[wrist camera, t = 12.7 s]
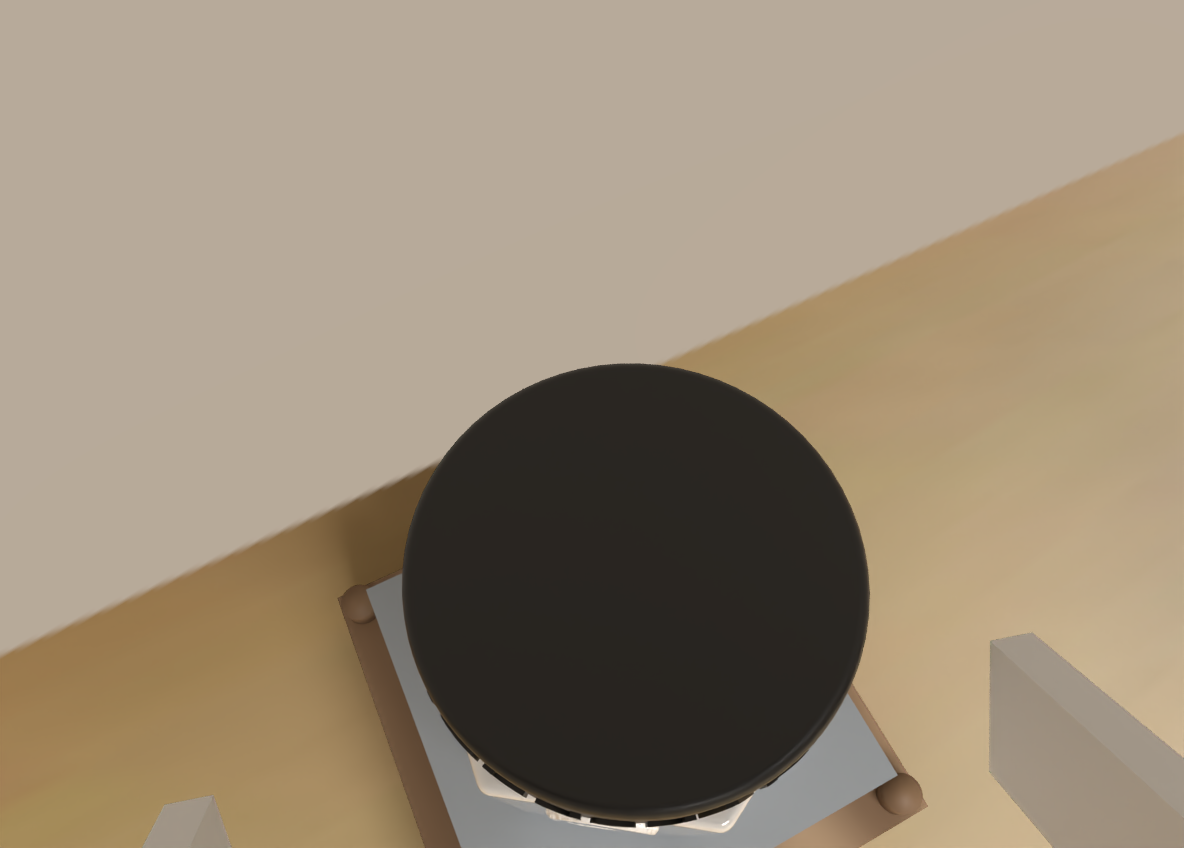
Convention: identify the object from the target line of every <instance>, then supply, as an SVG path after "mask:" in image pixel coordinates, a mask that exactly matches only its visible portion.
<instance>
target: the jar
mask: <svg viewBox="0 0 1184 848" xmlns="http://www.w3.org/2000/svg"><path fill="white" fill-rule="evenodd" d="M869 599H870V591H869V575H868V567H867V560H866V554H865V549H864V545H863V541H862V537H861V534H860V530H859V527H858V524H857V521H856V519H855V516H854V513H853V511H852V508H851V506H850V504H849V502H848V500H847V498H846V496H845V493H844V491H843V489H842V487H841V486H840V484H839V483H838V481H837V479H836V478H835V476H834V474H833V473H832V471H831V469H830V468H829V467H828V465H827V464H826V463H825V461H824V460H823V459H822V457H821V456H820V454H819V453H818V452H817V451H816V450H815V449H814V447H813V446H812V445H811V444H810V443H809V442H808V441H807V440H806V438H805V437H804V436H803V435H802V434H801V433H800V432H798V431H797V430H796V429H795V428H794V427H793V426H792V425H791V424H790V423H789V422H788V421H786V420H785V419H784V418H783V417H781V416H780V415H779V414H778V413H776V412H775V411H774V410H773V409H771V408H770V407H768V406H767V405H765V404H763V403H762V402H760V401H759V400H757V399H756V398H754V397H752V396H751V395H749V394H747V393H745V392H743V391H741V390H739V389H738V388H736V387H733V386H731V385H729V384H726V383H724V382H722V381H720V380H717V379H714V378H711V377H708V376H705V375H702V374H699V373H696V372H692V371H688V370H684V369H680V368H674V367H668V366H661V365H651V364H612V365H611V364H610V365H600V366H593V367H588V368H582V369H577V370H574V371H570V372H566V373H563V374H559V375H556V376H553V377H550V378H548V379H545V380H542V381H540V382H538V383H535V384H533V385H531V386H529V387H527V388H525V389H522V390H521V391H519V392H517V393H515V394H514V395H512V396H510V397H508V398H507V399H505V400H504V401H502V402H501V403H499V404H498V405H496V406H495V407H494V408H492V409H491V410H489V411H488V412H487V413H486V414H484V415H483V416H482V417H481V418H480V419H479V420H477V421H476V422H475V423H474V424H473V425H472V426H471V427H470V428H469V429H468V430H467V431H466V432H465V433H464V434H463V435H462V436H461V437H460V438H459V439H458V440H457V441H456V442H455V444H454V445H453V446H452V447H451V449H450V450H449V451H448V452H447V453H446V455H445V456H444V458H443V459H442V461H441V462H440V463H439V465H438V466H437V468H436V469H435V471H434V473H433V474H432V476H431V478H430V480H429V482H428V483H427V485H426V487H425V489H424V491H423V493H422V496H421V498H420V500H419V503H418V505H417V507H416V510H415V513H414V516H413V519H412V523H411V526H410V529H409V533H408V538H407V542H406V547H405V553H404V562H403V571H402V602H403V612H404V621H405V626H406V631H407V637H408V641H409V644H410V648H411V652H412V655H413V658H414V661H415V664H416V666H417V669H418V672H419V674H420V676H421V679H422V681H423V683H424V685H425V688H426V689H427V693H428V695H429V697H430V699H431V701H432V703H433V704H435V706H436V707H437V709H438V710H439V712H440V713H441V714H440V716H441V718H442V720H443V721H444V723H445V725H446V726H447V728H448V729H449V731H450V732H451V733H452V735H453V736H454V737H455V739H456V740H457V741H458V742H459V743H460V745H461V746H462V747H463V748H464V749H465V750H466V751H467V753H468V757H469V760H470V763H471V766H472V770H473V773H474V776H475V780H476V783H477V786H478V788H479V789H480V791H481V792H482V793H484V794H485V795H487V796H490V797H492V798H494V799H497V800H499V801H501V802H504V803H506V804H508V805H511V806H513V807H515V808H518V809H520V810H522V811H525V812H529V813H535V814H541V815H548V817H549V818H550V819H553V820H555V821H564V822H568V823H572V824H577V825H580V826H586V827H592V828H599V829H606V830H613V831H622V832H628V833H635V834H643V835H651V836H654V835H655V834H656V833H659V834H665V835H671V836H688V835H701V834H714V833H724V832H727V831H729V830H730V829H731V828H732V827H733V826H734V824H735V823H736V821H737V819H738V818H739V816H740V815H741V813H742V811H743V810H744V808H745V807H746V805H747V804H748V802H749V800H750V799H751V797H752V796H753V794H754V793H755V791H756V790H757V789H763V788H766V787H769V786H770V785H771V784H773V783H774V782H775V781H777V780H778V779H777V778H779V777H780V776H781V775H783V774H784V773H785V772H787V771H788V770H789V769H790V768H792V767H793V766H794V765H795V764H796V763H797V762H798V761H799V760H800V759H801V758H802V757H803V756H804V755H805V754H806V753H807V752H808V751H809V750H808V749H809V748H810V747H811V746H812V745H813V744H814V743H815V742H816V741H817V739H818V738H819V737H820V736H821V735H822V733H823V732H824V731H825V729H826V728H827V726H828V725H829V724H830V722H831V721H832V719H833V718H834V716H835V715H836V713H837V711H838V710H839V708H840V706H841V705H842V703H843V701H844V699H845V697H846V695H847V693H848V691H849V689H850V687H851V684H852V682H853V679H854V677H855V674H856V671H857V669H858V666H859V663H860V659H861V656H862V652H863V647H864V643H865V639H866V633H867V626H868V619H869Z"/></svg>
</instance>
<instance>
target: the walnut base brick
mask: <svg viewBox="0 0 1184 848" xmlns="http://www.w3.org/2000/svg"><path fill="white" fill-rule="evenodd" d="M402 571H403V568H402V569H400V570H398V571H396V572H394V573H391V574H389V575H387V576H385V577H383V578H380V579H378V580H376V581H374V582H372V583H369V584H367V585H356V586H353V587H351V588H349V589H348V590H347V591H346V592H345V593H344V595H343V596H341V597H339V598H338V601H339V604H340V607H341V609H342V612H343V615H344V618H345V621H346V624H347V626H348V629H349V632H350V635H351V638H352V641H353V644H354V646H355V649H356V652H357V655H358V658H359V661H360V663H361V666H362V669H363V672H364V675H365V678H366V681H367V683H368V686H369V689H370V692H371V695H372V698H373V700H374V703H375V706H376V709H377V712H378V715H379V717H380V720H381V723H382V726H383V729H384V732H385V735H386V737H387V740H388V743H389V746H390V749H391V752H392V754H393V757H394V760H395V763H396V766H397V769H398V772H399V774H400V777H401V780H402V783H403V786H404V789H405V791H406V794H407V797H408V800H409V803H410V806H411V809H412V811H413V814H414V817H415V820H416V823H417V826H418V828H419V831H420V834H421V837H422V840H423V843H424V845H425V848H461V846H460V843H459V840H458V838H457V835H456V832H455V829H454V827H453V824H452V821H451V819H450V816H449V813H448V810H447V808H446V805H445V802H444V800H443V797H442V794H441V792H440V789H439V786H438V783H437V781H436V778H435V775H434V773H433V770H432V767H431V765H430V762H429V759H428V756H427V754H426V751H425V748H424V746H423V743H422V740H421V737H420V735H419V732H418V729H417V727H416V724H415V721H414V719H413V716H412V713H411V710H410V708H409V705H408V702H407V700H406V697H405V694H404V692H403V689H402V686H401V683H400V681H399V678H398V675H397V673H396V670H395V667H394V664H393V662H392V659H391V656H390V654H389V651H388V648H387V646H386V643H385V640H384V637H383V635H382V632H381V629H380V627H379V624H378V621H377V618H376V616H375V613H374V610H373V608H372V605H371V602H370V600H369V597H368V594H367V591H366V589H369V588H371V587H373V586H375V585H377V584H379V583H382V582H384V581H386V580H388V579H390V578H393V577H395V576H397V575H399V574H401V573H402ZM848 695H849V696H850V698H851V700H852V701H853V703H854V704H855V706H856V708H857V709H858V711H859V713H860V714H861V716H862V718H863V719H864V721H865V722H866V724H867V726H868V727H869V729H870V731H871V732H872V734H873V735H874V737H875V739H876V740H877V742H878V744H879V745H880V747H881V749H882V750H883V752H884V753H885V755H886V757H887V758H888V760H889V762H890V763H891V765H892V766H893V768H894V770H895V771H896V773H897V776H896V777H894V778H892V779H891V780H889V781H887V782H885V783H884V784H882V785H880V786H879V787H877V788H875V789H873V790H872V791H870V792H868V793H867V794H865V795H863V796H861V797H860V798H858V799H856V800H855V801H853V802H851V803H849V804H848V805H846V806H844V807H843V808H841V809H839V810H837V811H836V812H834V813H832V814H831V815H829V816H827V817H825V818H824V819H822V820H820V821H819V822H817V823H815V824H813V825H812V826H810V827H808V828H807V829H805V830H803V831H802V832H800V833H798V834H796V835H795V836H793V837H791V838H790V839H788V840H786V841H784V842H783V843H781V844H779V845H778V846H776V847H774V848H859V847H861V846H862V845H864V844H866V843H867V842H869V841H871V840H872V839H874V838H876V837H877V836H879V835H881V834H883V833H884V832H886V831H888V830H889V829H891V828H893V827H894V826H896V825H898V824H899V823H901V822H903V821H904V820H906V819H908V818H909V817H911V816H913V815H914V814H916V813H918V812H919V811H921V810H923V809H924V808H926V807H928V805H927V804H926V802H925V800H924V799H923V794H922V790H921V787H920V785H919V784H918V782H917V781H916V780H915V779H914V778H913V777H912V776H910V775H908V773H907V771H906V770H905V768H904V766H903V765H902V763H901V762H900V760H899V758H898V757H897V755H896V754H895V752H894V750H893V749H892V747H891V745H890V744H889V742H888V741H887V739H886V737H885V736H884V734H883V733H882V731H881V729H880V728H879V726H878V724H877V723H876V721H875V720H874V718H873V716H872V715H871V713H870V712H869V710H868V708H867V707H866V705H865V703H864V702H863V700H862V699H861V697H860V695H859V694H858V692H857V691H856V689H855V687H854V686H853V684H851V687H850V689H849V691H848Z"/></svg>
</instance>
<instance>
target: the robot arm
mask: <svg viewBox="0 0 1184 848" xmlns="http://www.w3.org/2000/svg"><path fill="white" fill-rule="evenodd" d="M989 772H990V773H991V775H992V776H993V777H994V778H995V779H996V780H997V782H998V783H999V784H1000V785H1001V786H1002V788H1003V789H1004V790H1005V791H1006V792H1007V793H1008V795H1009V796H1010V797H1011V798H1012V799H1013V801H1014V802H1015V803H1016V804H1017V805H1018V806H1019V808H1020V809H1021V810H1022V811H1023V812H1024V814H1025V815H1026V816H1027V817H1028V818H1029V819H1030V821H1031V822H1032V823H1033V824H1034V825H1035V826H1036V828H1037V829H1038V830H1039V831H1040V832H1041V834H1042V835H1043V836H1044V837H1045V838H1046V839H1047V841H1048V842H1049V843H1050V844H1051V845H1052V847H1053V848H1184V758H1183V757H1182V756H1181V755H1179V754H1178V753H1177V752H1176V751H1175V750H1173V749H1172V748H1171V747H1170V746H1168V745H1167V744H1166V743H1165V742H1164V741H1162V740H1161V739H1160V738H1159V737H1158V736H1156V735H1155V734H1154V733H1153V732H1152V731H1150V730H1149V729H1148V728H1147V727H1146V726H1144V725H1143V724H1142V723H1141V722H1140V721H1138V720H1137V719H1136V718H1135V717H1134V716H1132V715H1131V714H1130V713H1129V712H1127V711H1126V710H1125V709H1124V708H1123V707H1121V706H1120V705H1119V704H1118V703H1117V702H1115V701H1114V700H1113V699H1112V698H1111V697H1109V696H1108V695H1107V694H1106V693H1105V692H1103V691H1102V690H1101V689H1100V688H1099V687H1097V686H1096V685H1095V684H1094V683H1093V682H1091V681H1090V680H1089V679H1088V678H1086V677H1085V676H1084V675H1083V674H1082V673H1080V672H1079V671H1078V670H1077V669H1076V668H1074V667H1073V666H1072V665H1071V664H1070V663H1068V662H1067V661H1066V660H1065V659H1064V658H1062V657H1061V656H1060V655H1059V654H1058V653H1056V652H1055V651H1054V650H1053V649H1052V648H1050V647H1049V646H1048V645H1047V644H1046V643H1044V642H1043V641H1042V640H1041V639H1039V638H1038V637H1037V636H1036V635H1035V634H1033V633H1027V634H1022V635H1017V636H1012V637H1007V638H1002V639H997V640H992V641H990V722H989ZM142 848H232V847H231V844H230V842H229V839H228V836H227V833H226V830H225V827H224V824H223V821H222V818H221V815H220V813H219V810H218V807H217V804H216V801H215V798H214V795H211V796H206V797H201V798H196V799H191V800H186V801H181V802H176V803H171V804H166V805H164V807H163V809H162V810H161V812H160V814H159V816H158V818H157V820H156V822H155V824H154V826H153V828H152V830H151V831H150V833H149V835H148V837H147V839H146V841H145V843H144V845H143V847H142Z"/></svg>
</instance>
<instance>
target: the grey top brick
mask: <svg viewBox="0 0 1184 848" xmlns="http://www.w3.org/2000/svg"><path fill="white" fill-rule="evenodd" d="M366 591H367V594H368V597H369V600H370V602H371V605H372V608H373V610H374V613H375V616H376V618H377V621H378V624H379V627H380V629H381V632H382V635H383V637H384V640H385V643H386V646H387V648H388V651H389V654H390V656H391V659H392V662H393V664H394V667H395V670H396V673H397V675H398V678H399V681H400V683H401V686H402V689H403V692H404V694H405V697H406V700H407V702H408V705H409V708H410V710H411V713H412V716H413V719H414V721H415V724H416V727H417V729H418V732H419V735H420V737H421V740H422V743H423V746H424V748H425V751H426V754H427V756H428V759H429V762H430V765H431V767H432V770H433V773H434V775H435V778H436V781H437V783H438V786H439V789H440V792H441V794H442V797H443V800H444V802H445V805H446V808H447V810H448V813H449V816H450V819H451V821H452V824H453V827H454V829H455V832H456V835H457V838H458V840H459V843H460V846H461V848H774V847H776V846H778V845H779V844H781V843H783V842H784V841H786V840H788V839H790V838H791V837H793V836H795V835H796V834H798V833H800V832H802V831H803V830H805V829H807V828H808V827H810V826H812V825H813V824H815V823H817V822H819V821H820V820H822V819H824V818H825V817H827V816H829V815H831V814H832V813H834V812H836V811H837V810H839V809H841V808H843V807H844V806H846V805H848V804H849V803H851V802H853V801H855V800H856V799H858V798H860V797H861V796H863V795H865V794H867V793H868V792H870V791H872V790H873V789H875V788H877V787H879V786H880V785H882V784H884V783H885V782H887V781H889V780H891V779H892V778H894V777H896V776H897V773H896V771H895V770H894V768H893V766H892V765H891V763H890V762H889V760H888V758H887V757H886V755H885V753H884V752H883V750H882V749H881V747H880V745H879V744H878V742H877V740H876V739H875V737H874V735H873V734H872V732H871V731H870V729H869V727H868V726H867V724H866V722H865V721H864V719H863V718H862V716H861V714H860V713H859V711H858V709H857V708H856V706H855V704H854V703H853V701H852V700H851V698H850V696H849V695H848V693H847V695H846V697H845V699H844V701H843V703H842V705H841V706H840V708H839V710H838V711H837V713H836V715H835V716H834V718H833V719H832V721H831V722H830V724H829V725H828V726H827V728H826V729H825V731H824V732H823V733H822V735H821V736H820V737H819V738H818V739H817V741H816V742H815V743H814V744H813V745H812V746H811V747H810V748H809V749H808V750H809V751H808V752H807V753H806V754H805V755H804V756H803V757H802V758H801V759H800V760H799V761H798V762H797V763H796V764H795V765H794V766H793V767H792V768H790V769H789V770H788V771H787V772H785V773H784V774H783V775H781V776H780V777H779V778H777V779H778V780H777V781H775V782H774V783H773V784H771V785H770V786H769V787H766V788H763V789H757V790H756V791H755V793H754V794H753V796H752V797H751V799H750V800H749V802H748V804H747V805H746V807H745V808H744V810H743V811H742V813H741V815H740V816H739V818H738V819H737V821H736V823H735V824H734V826H733V827H732V828H731V829H730V830H729V831H727V832H724V833H714V834H701V835H688V836H671V835H665V834H659V833H656V834H655V835H654V836H651V835H643V834H635V833H628V832H622V831H613V830H606V829H599V828H592V827H586V826H580V825H577V824H572V823H568V822H564V821H555V820H553V819H550V818H549V817H548V815H541V814H535V813H529V812H525V811H522V810H520V809H518V808H515V807H513V806H511V805H508V804H506V803H504V802H501V801H499V800H497V799H494V798H492V797H490V796H487V795H485V794H484V793H482V792H481V791H480V789H479V788H478V786H477V783H476V780H475V776H474V773H473V770H472V766H471V763H470V760H469V757H468V753H467V751H466V750H465V749H464V748H463V747H462V746H461V745H460V743H459V742H458V741H457V740H456V739H455V737H454V736H453V735H452V733H451V732H450V731H449V729H448V728H447V726H446V725H445V723H444V721H443V720H442V718H441V716H440V714H441V713H440V712H439V710H438V709H437V707H436V706H435V704H433V703H432V701H431V699H430V697H429V695H428V693H427V689H426V688H425V685H424V683H423V681H422V679H421V676H420V674H419V672H418V669H417V666H416V664H415V661H414V658H413V655H412V652H411V648H410V644H409V641H408V637H407V631H406V626H405V621H404V612H403V602H402V573H401V574H399V575H397V576H395V577H393V578H390V579H388V580H386V581H384V582H382V583H379V584H377V585H375V586H373V587H371V588H369V589H366Z"/></svg>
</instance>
